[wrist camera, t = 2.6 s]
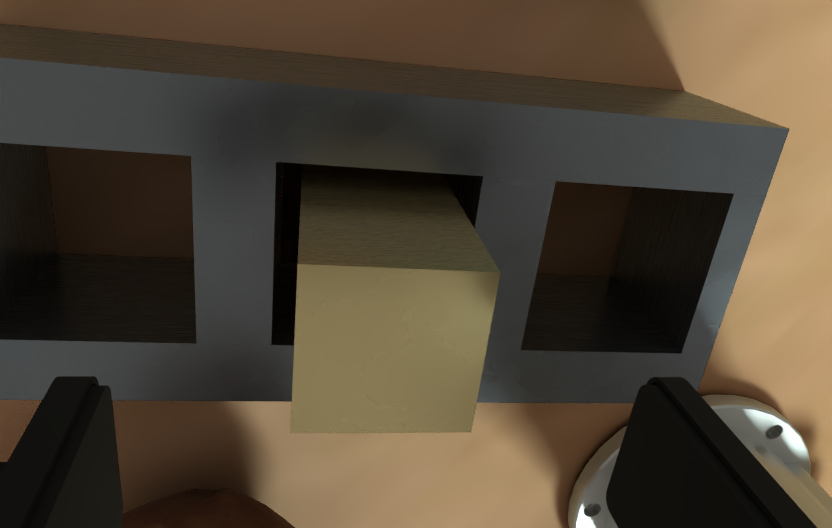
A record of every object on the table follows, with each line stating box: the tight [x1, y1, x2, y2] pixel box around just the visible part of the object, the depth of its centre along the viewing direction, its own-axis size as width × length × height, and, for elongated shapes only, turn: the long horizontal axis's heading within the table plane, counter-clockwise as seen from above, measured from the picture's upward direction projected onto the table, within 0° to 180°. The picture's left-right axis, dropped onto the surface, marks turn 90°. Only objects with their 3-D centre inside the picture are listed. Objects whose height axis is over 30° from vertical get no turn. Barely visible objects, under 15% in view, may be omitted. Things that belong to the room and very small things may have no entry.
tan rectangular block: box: [290, 164, 501, 433], centre depth 20 cm, size 4×4×11 cm
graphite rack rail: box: [0, 24, 789, 403], centre depth 22 cm, size 24×10×6 cm, turn 84°
